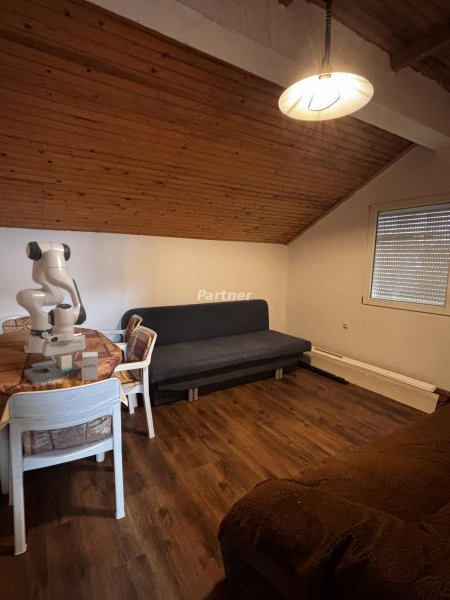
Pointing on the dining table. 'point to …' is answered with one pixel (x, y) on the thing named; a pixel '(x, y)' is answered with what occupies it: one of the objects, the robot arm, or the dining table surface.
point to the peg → (64, 361)
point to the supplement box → (89, 366)
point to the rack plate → (50, 372)
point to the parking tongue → (42, 364)
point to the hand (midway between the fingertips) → (64, 361)
